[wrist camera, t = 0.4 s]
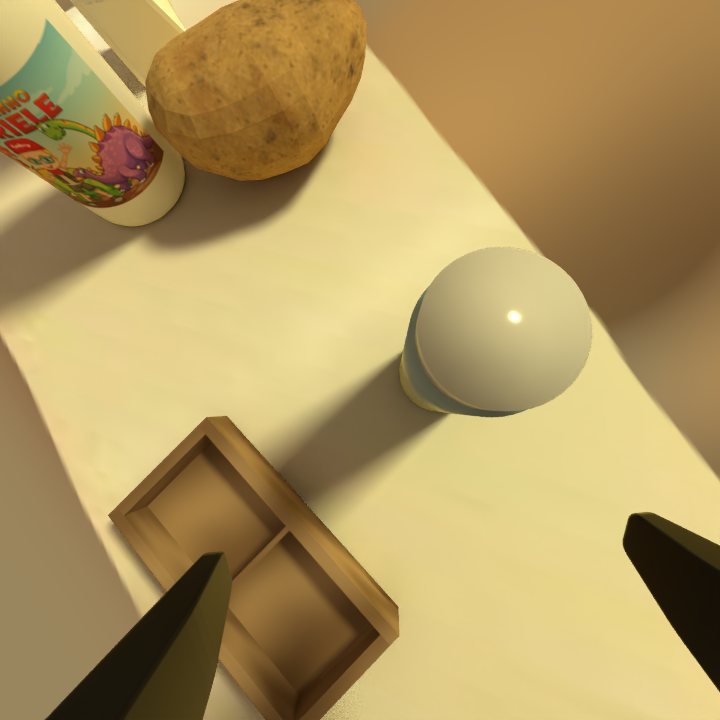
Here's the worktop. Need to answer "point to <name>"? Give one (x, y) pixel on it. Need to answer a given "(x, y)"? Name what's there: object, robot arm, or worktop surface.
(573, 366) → the salt shaker
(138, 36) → the skyscraper
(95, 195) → the milk bottle
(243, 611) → the caddy
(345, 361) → the worktop surface
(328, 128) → the potato
